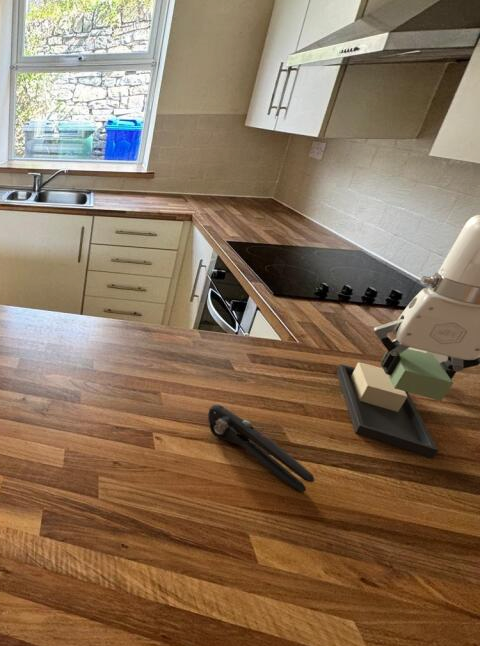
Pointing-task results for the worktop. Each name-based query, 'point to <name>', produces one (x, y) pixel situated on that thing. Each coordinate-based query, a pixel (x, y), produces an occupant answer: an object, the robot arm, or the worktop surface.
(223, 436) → the can opener
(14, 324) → the worktop surface
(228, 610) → the worktop surface
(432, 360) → the pad
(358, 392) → the pad
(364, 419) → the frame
